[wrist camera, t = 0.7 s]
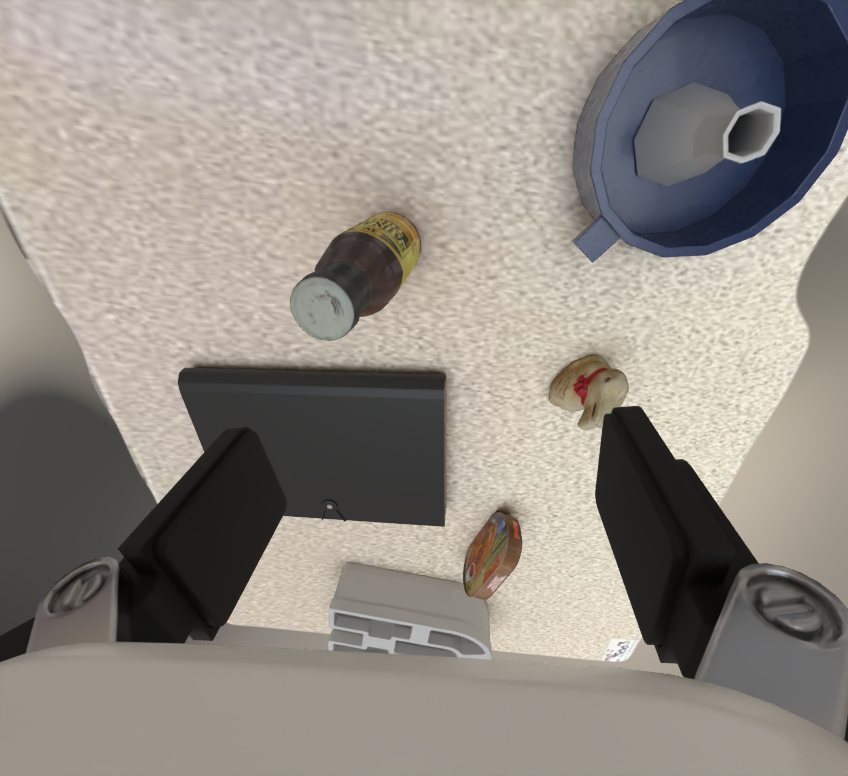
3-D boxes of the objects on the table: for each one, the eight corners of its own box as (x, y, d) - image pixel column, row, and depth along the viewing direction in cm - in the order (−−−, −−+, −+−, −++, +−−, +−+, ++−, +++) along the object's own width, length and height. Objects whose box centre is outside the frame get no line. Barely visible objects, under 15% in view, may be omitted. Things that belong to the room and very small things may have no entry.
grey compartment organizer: (344, 559, 69) (328, 608, 62) (499, 587, 69) (502, 640, 61) (341, 609, 78) (328, 656, 71) (479, 634, 77) (480, 684, 70)
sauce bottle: (428, 219, 38) (393, 275, 21) (414, 280, 41) (375, 370, 25) (363, 201, 38) (276, 243, 21) (355, 264, 41) (274, 344, 24)
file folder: (228, 515, 59) (171, 377, 47) (242, 495, 63) (192, 361, 50) (444, 529, 56) (444, 384, 43) (446, 507, 59) (446, 367, 47)
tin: (502, 500, 57) (507, 550, 50) (522, 507, 58) (529, 557, 50) (461, 556, 65) (460, 606, 58) (478, 561, 65) (479, 612, 58)
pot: (510, 176, 35) (517, 181, 30) (762, -113, 25) (841, -184, 20) (621, 296, 40) (645, 319, 35) (872, 91, 30) (961, 79, 24)
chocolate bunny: (618, 385, 45) (652, 440, 37) (552, 406, 48) (569, 461, 39) (608, 346, 43) (641, 394, 34) (538, 369, 45) (553, 420, 37)
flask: (623, 188, 35) (672, 200, 26) (643, 86, 31) (707, 62, 22) (710, 184, 34) (790, 195, 25) (742, 78, 30) (848, 51, 22)
